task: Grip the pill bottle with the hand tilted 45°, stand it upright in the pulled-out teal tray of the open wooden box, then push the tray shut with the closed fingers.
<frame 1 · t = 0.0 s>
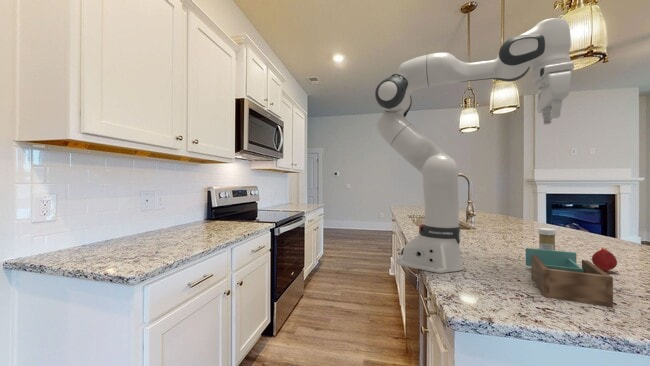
hand: (551, 121, 82), 48 cm above the counter, tool pointing down, fingers open, 8 cm apart
open wooden box: (566, 290, 75), on the counter
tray: (555, 263, 85), point 4 cm above the counter, slide at 9.0 cm
pill bottle: (547, 267, 95), on the counter
onion: (604, 272, 90), on the counter
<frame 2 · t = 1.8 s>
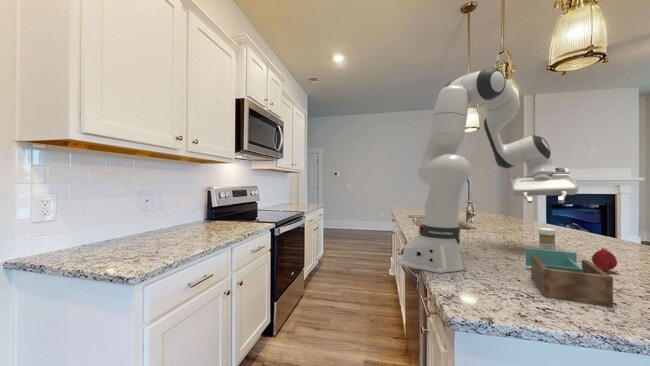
hand: (545, 202, 103), 22 cm above the counter, tool tilted 45°, fingers open, 8 cm apart
nothing on the counter moved.
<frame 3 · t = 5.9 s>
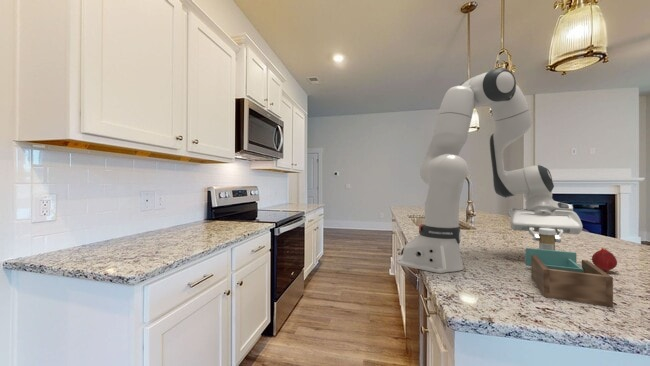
hand: (547, 240, 94), 9 cm above the counter, tool tilted 45°, fingers closed on pill bottle, 4 cm apart
pill bottle: (547, 267, 95), on the counter, touching gripper
everything else where it was.
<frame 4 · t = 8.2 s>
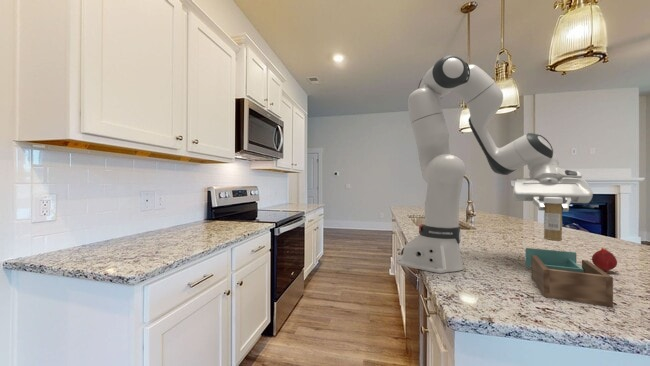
hand: (553, 209, 85), 21 cm above the counter, tool tilted 45°, fingers closed on pill bottle, 4 cm apart
pill bottle: (552, 240, 86), point 11 cm above the counter, touching gripper
everything else where it was.
when the fingers open (13 cm above the counter, at t = 10.8 s): pill bottle stays where it is, resting on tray.
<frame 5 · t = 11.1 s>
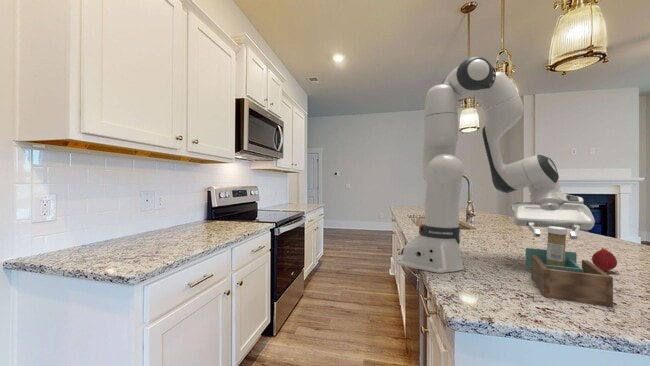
hand: (555, 237, 85), 13 cm above the counter, tool tilted 45°, fingers open, 8 cm apart
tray: (555, 264, 85), point 4 cm above the counter, slide at 8.9 cm, touching pill bottle
pill bottle: (554, 270, 85), point 2 cm above the counter, touching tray
everything else where it was.
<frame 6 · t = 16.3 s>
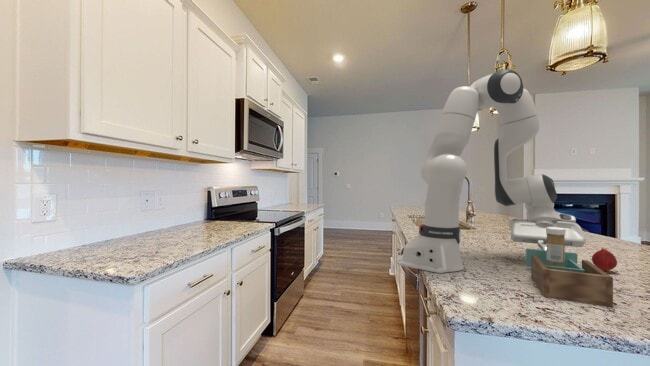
hand: (549, 253, 91), 6 cm above the counter, tool tilted 45°, fingers closed, pressing on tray
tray: (555, 264, 84), point 4 cm above the counter, slide at 8.2 cm, touching gripper, pill bottle
everything else where it was.
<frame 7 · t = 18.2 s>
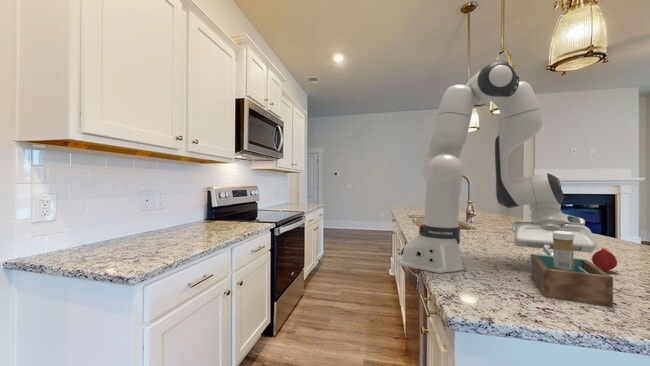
hand: (556, 259, 83), 6 cm above the counter, tool tilted 45°, fingers closed, pressing on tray
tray: (563, 272, 77), point 4 cm above the counter, slide at -0.1 cm, touching gripper, pill bottle
pill bottle: (563, 280, 77), point 2 cm above the counter, touching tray
everything else where it was.
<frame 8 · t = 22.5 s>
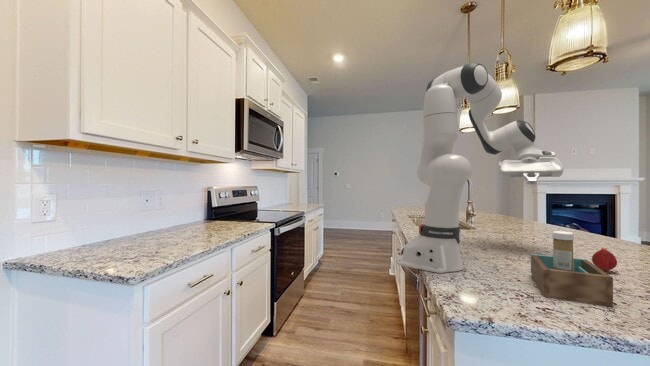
hand: (532, 182, 105), 29 cm above the counter, tool tilted 45°, fingers closed
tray: (563, 272, 77), point 4 cm above the counter, slide at 0.0 cm, touching pill bottle
everything else where it was.
at the end: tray slide at 0.0 cm; pill bottle inside the target area on the open wooden box (2.5 cm from its centre), point 1.8 cm above the open wooden box's base; pill bottle tilted 0° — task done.
